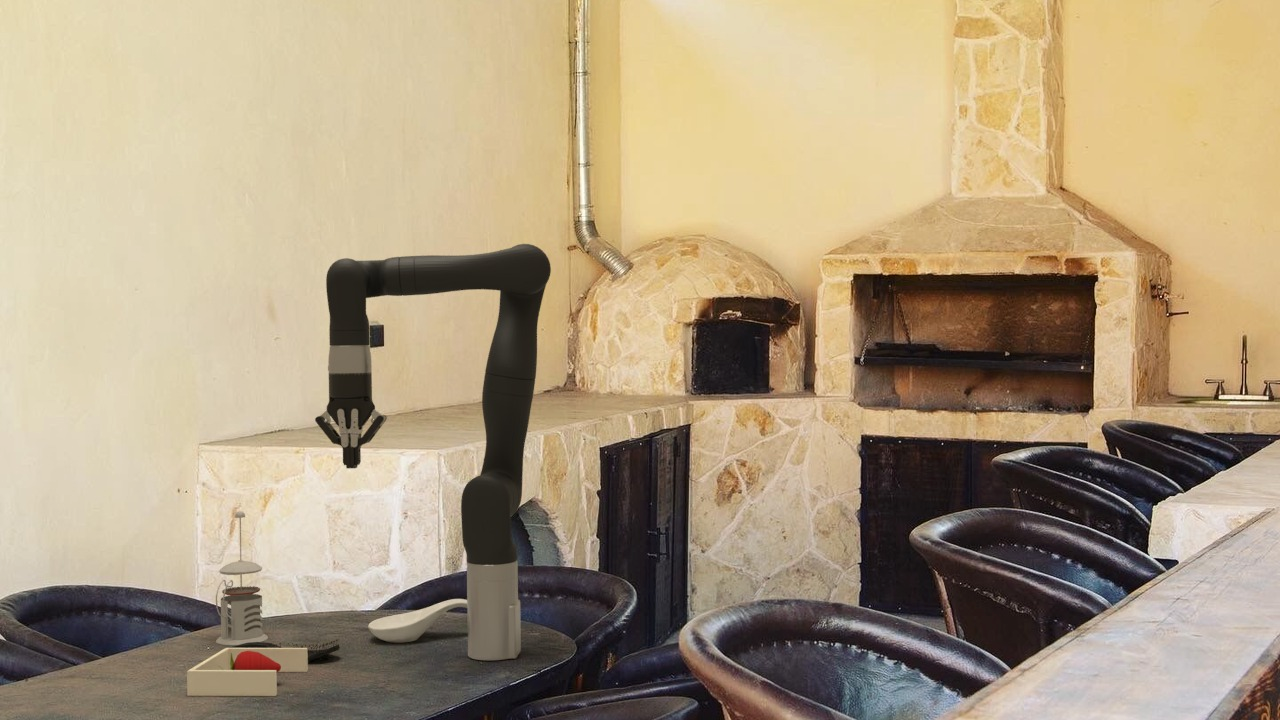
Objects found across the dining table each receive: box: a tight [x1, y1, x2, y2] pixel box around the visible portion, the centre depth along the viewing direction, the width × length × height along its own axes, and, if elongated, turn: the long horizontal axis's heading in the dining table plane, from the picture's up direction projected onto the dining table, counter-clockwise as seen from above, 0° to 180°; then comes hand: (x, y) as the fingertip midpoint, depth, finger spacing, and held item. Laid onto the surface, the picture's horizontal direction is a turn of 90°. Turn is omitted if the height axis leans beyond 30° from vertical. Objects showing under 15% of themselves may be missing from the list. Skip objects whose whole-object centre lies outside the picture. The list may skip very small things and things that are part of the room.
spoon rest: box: [367, 598, 467, 644], centre depth 254 cm, size 24×12×7 cm, turn 103°
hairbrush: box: [227, 638, 341, 662], centre depth 239 cm, size 8×4×25 cm
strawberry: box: [220, 651, 281, 673], centre depth 218 cm, size 6×8×10 cm
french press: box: [215, 511, 269, 646], centre depth 253 cm, size 10×12×25 cm
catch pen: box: [186, 647, 309, 697], centre depth 220 cm, size 15×17×4 cm
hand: (351, 467), depth 233 cm, fingers closed
